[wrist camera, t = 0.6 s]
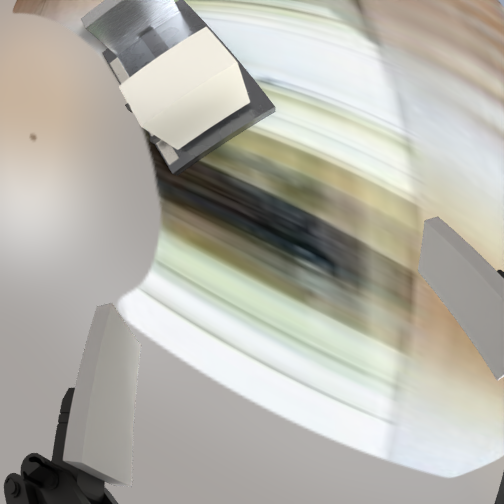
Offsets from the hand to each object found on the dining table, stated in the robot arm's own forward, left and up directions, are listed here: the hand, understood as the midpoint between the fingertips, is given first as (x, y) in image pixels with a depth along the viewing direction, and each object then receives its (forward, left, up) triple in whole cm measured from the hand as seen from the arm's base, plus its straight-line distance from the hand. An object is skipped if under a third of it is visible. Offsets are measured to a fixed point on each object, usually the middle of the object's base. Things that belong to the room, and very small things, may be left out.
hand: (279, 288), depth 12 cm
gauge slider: (-8, -15, -18) cm, 25 cm away
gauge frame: (-13, -20, -21) cm, 32 cm away
